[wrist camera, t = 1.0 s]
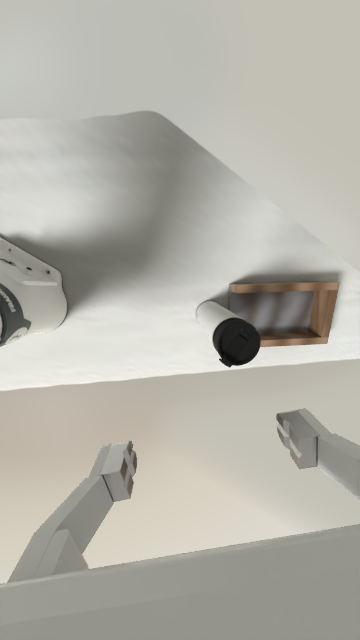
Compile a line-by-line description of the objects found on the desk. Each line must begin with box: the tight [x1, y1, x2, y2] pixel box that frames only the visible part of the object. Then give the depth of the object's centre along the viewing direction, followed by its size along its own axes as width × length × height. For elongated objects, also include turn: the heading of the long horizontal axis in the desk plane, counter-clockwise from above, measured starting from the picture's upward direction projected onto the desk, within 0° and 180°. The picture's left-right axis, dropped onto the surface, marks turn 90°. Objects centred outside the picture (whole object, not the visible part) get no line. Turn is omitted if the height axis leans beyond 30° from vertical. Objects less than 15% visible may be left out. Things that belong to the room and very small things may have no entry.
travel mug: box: [196, 301, 261, 367], centre depth 33 cm, size 6×7×20 cm
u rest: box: [228, 281, 340, 347], centre depth 41 cm, size 22×14×5 cm, turn 91°
